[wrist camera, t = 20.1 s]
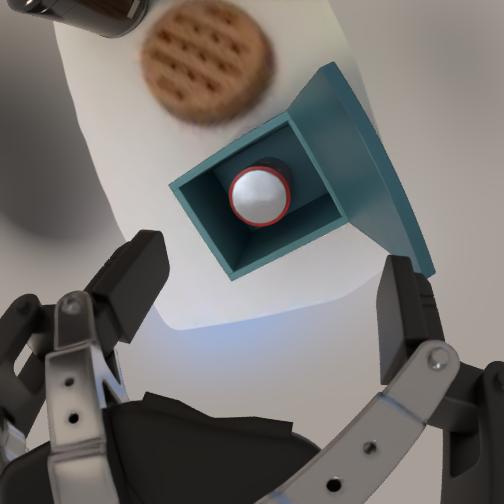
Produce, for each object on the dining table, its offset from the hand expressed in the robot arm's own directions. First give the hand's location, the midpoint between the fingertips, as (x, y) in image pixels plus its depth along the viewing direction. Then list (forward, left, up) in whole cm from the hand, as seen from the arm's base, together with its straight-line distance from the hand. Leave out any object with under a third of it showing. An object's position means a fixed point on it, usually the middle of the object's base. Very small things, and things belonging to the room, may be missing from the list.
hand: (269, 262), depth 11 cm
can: (-2, -3, -31) cm, 32 cm away
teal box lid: (+3, +3, -11) cm, 12 cm away
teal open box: (-2, -3, -32) cm, 32 cm away
